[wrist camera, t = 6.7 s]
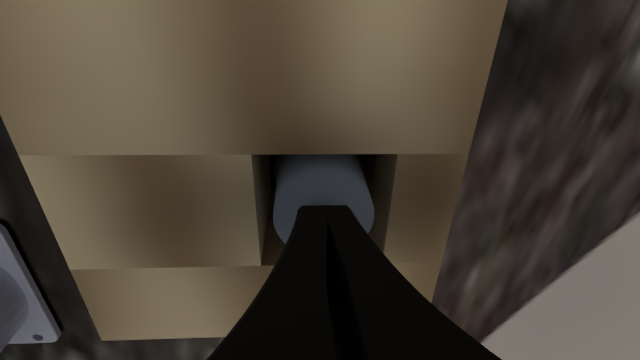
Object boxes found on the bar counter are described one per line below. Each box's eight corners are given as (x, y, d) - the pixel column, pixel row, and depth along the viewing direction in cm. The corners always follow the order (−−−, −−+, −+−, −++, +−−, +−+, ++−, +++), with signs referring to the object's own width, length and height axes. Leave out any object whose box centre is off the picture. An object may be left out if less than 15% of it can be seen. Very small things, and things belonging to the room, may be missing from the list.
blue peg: (279, 187, 15) (271, 260, 11) (275, 114, 13) (265, 170, 9) (354, 186, 15) (373, 258, 11) (360, 114, 14) (383, 169, 10)
